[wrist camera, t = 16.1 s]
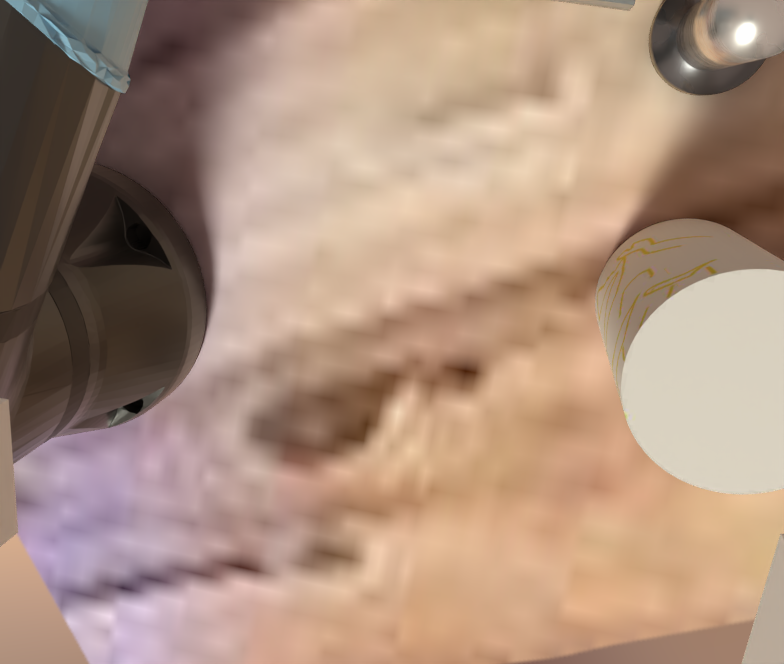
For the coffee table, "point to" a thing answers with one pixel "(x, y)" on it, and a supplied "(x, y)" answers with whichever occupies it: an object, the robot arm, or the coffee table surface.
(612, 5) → the tray
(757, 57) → the post
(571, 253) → the coffee table surface
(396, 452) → the coffee table surface
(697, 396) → the cup
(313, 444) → the coffee table surface
